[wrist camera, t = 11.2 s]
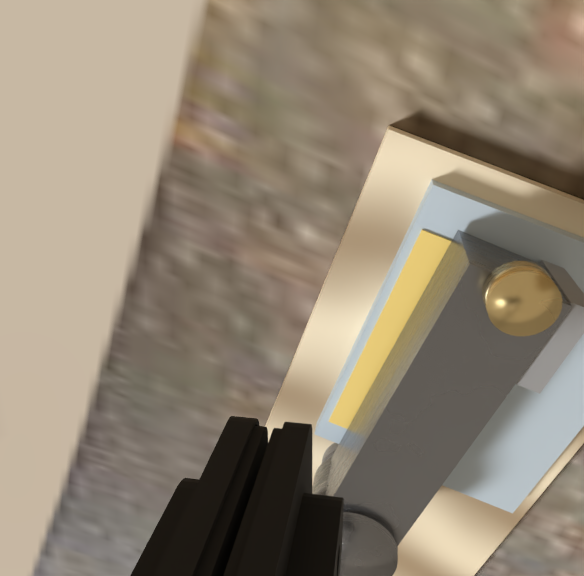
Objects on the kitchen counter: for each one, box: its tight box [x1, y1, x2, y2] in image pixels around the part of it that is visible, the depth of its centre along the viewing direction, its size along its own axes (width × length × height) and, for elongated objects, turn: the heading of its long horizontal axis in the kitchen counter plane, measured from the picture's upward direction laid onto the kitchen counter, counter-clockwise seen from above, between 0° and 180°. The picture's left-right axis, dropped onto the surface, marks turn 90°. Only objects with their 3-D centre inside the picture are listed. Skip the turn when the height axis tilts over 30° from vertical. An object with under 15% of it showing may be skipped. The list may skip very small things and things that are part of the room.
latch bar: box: [312, 230, 572, 576], centre depth 18 cm, size 14×4×4 cm, turn 160°
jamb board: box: [265, 126, 584, 576], centre depth 23 cm, size 25×12×1 cm, turn 161°
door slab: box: [314, 180, 584, 513], centre depth 18 cm, size 12×9×4 cm
